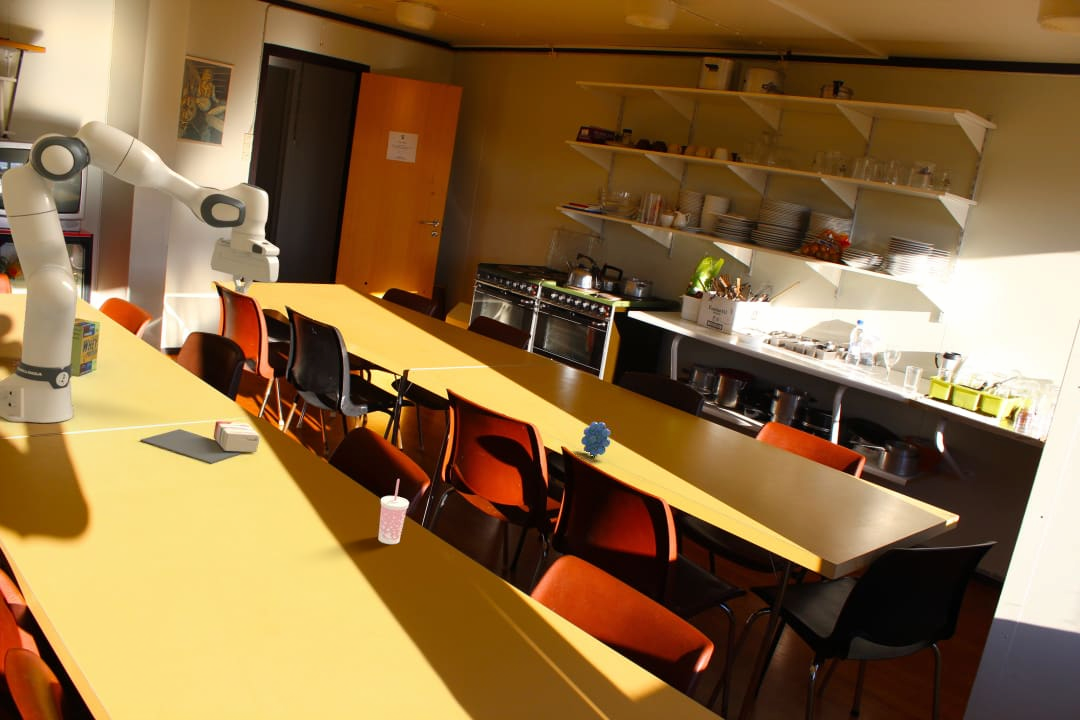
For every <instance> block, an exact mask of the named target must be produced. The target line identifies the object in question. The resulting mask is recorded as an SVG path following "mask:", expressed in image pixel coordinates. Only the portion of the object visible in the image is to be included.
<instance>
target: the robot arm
mask: <svg viewBox="0 0 1080 720" xmlns="http://www.w3.org/2000/svg"><path fill="white" fill-rule="evenodd" d="M25 162H26V163H25V164H24V165H19V166H14V167H12V168H9V169H7V170H6V171H5V172H4V173H3V174H2V176H1V181H0V182H1V194H2V201H3V202H2V203H3V207H4V211H5V215H6V219H7V222H8V226H9V230H10V234H11V237H12V241H13V244H14V248H15V251H16V255H17V258H18V260H19V261H18V262H19V264H20V268H21V272H22V275H23V278H24V281H25V285H26V301H25V311H24V312H25V313H24V321H23V323H24V324H23V333H22V335H23V337H22V346H21V347H22V350H21V359H20V360H14V361H12V363H14V364H12V366H13V367H14V366H15V367H16V368H15V371H14V373H12V374H11V375H9V376H7V377H6V378H3V379H2V380H0V417H1V418H2V419H5V420H6V421H8V422H15V423H16V422H21V423H23V422H27V423H42V424H45V423H46V424H47V423H59V422H63V421H67V420H70V419H72V418H73V417H74V413H73V411H74V410H75V408H74V405H73V404H72V403H73V402H72V398H73V397H72V382H71V377H72V375H71V374H72V363H71V362H70V361H71V349H72V337H73V329H74V322H75V318H76V313H77V303H78V296H79V295H78V293H79V292H78V288H77V284H76V280H75V276H74V273H73V269H72V264H71V260H70V255H69V253H68V249H67V245H66V241H65V237H64V233H63V229H62V224H61V221H60V218H59V217H60V216H59V213H58V209H57V206H56V202H55V197H54V190H53V189H54V185H55V184H56V182H59V183H60V182H67V181H69V180H72V179H73V178H75V177H76V176H78V175H79V174H80V173H81V172H82V171H83V170H84V169H86V168H87V167H88V166H92V167H96V168H98V169H99V170H102V171H103V172H105V173H107V174H108V175H110V176H113V177H115V178H117V179H118V180H121V181H123V182H125V183H128V184H131V185H133V186H137V187H140V188H150V189H155V190H157V191H160V192H162V193H164V194H166V195H168V196H170V197H172V198H173V199H175V200H177V201H178V202H181V203H182V204H184V205H185V206H186V207H188V208H189V209H190V211H191V212H192V214H193V215H194V216H195V217H196V218H197V219H198V220H199V221H200V222H203V223H204V224H206V225H207V226H209V227H212V228H215V229H223V228H225V229H226V228H231V233H230V239H228V238H227V239H226V238H224V237H220V238H218V239H217V240H216V241H215V243H214V249H213V253H212V255H211V260H210V267H211V269H212V270H213V271H216V272H220V273H224V274H228V275H232V281H233V283H234V286H235V288H234V292H235V293H239V294H243V295H247V294H248V291H249V288H250V286H251V285H252V284H253V281H256V282H261V283H265V284H275V283H276V282H277V281H278V279H279V278H278V277H279V269H280V262H279V261H280V260H279V259H278V257H277V256H279V255H280V248H279V247H277V246H276V245H274V244H272V243H271V242H270V241H268V240H267V239H266V238H265V237H266V232H265V231H266V230H265V226H266V223H267V221H268V216H269V215H268V213H269V194H268V192H267V191H266V190H265V189H263V188H261V187H259V186H257V185H253V184H251V183H247V182H240V183H239V184H237V185H235V186H232V187H229V188H226V189H219V188H217V187H210V186H202V185H199V184H197V183H195V182H193V181H191V180H189V179H187V178H186V177H184V176H182V175H181V174H179V173H177V172H175V171H174V170H172V169H171V168H170V167H169V166H167V165H166V164H165V163H164V161H163V160H162V158H161V157H160V156H159V154H158V153H156V152H155V151H154V150H152V148H150V147H149V146H147V145H146V144H145V143H144V142H142V141H140V140H139V139H137V138H136V137H134V136H132V135H130V134H129V133H127V132H125V131H122V130H120V129H119V128H116V127H114V126H111V125H108V124H106V123H104V122H101V121H98V120H92V121H89V122H86V123H85V124H83V126H82V127H80V129H79V130H78V131H77V133H76V134H75V135H73V136H66V135H64V134H60V133H55V132H54V133H53V132H51V133H45V134H43V135H40V136H38V138H36V139H35V140H34V142H33V143H32V145H31V147H30V150H29V154H28V157H27V159H26V161H25ZM242 279H243V282H244V284H243V285H242V282H241V280H242Z"/></svg>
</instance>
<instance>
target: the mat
mask: <svg viewBox="0 0 1080 720" xmlns="http://www.w3.org/2000/svg"><path fill="white" fill-rule="evenodd" d="M139 441H140V442H142V443H144V444H148V445H151V446H155V447H158V448H161V449H163V450H166V451H170V452H172V453H176V454H179V455H182V456H185V457H188V458H192V459H194V460H197V461H200V462H204V463H206V464H209V465H213V464H216V463H219V462H221V461H224V460H227V459H231V458H233V457H237V456H239V455H243V454H245V453H247V452H240V451H225V450H224V449H223V448H222V447H221V446H220V445H219V443H218V442H217V441H216V440H215V439H214V438H213V439H212V438H209V437H206V436H202V435H199V434H196V433H194V432H190V431H187V430H184V429H180V428H179V429H175V430H171V431H168V432H163V433H160V434H156V435H153V436H150V437H149V436H148V437H145V438H140V440H139Z"/></svg>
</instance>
